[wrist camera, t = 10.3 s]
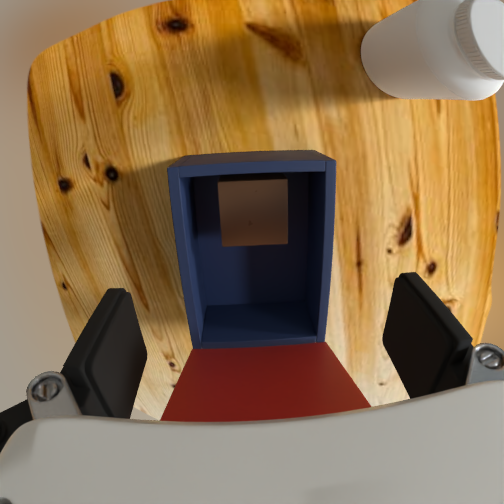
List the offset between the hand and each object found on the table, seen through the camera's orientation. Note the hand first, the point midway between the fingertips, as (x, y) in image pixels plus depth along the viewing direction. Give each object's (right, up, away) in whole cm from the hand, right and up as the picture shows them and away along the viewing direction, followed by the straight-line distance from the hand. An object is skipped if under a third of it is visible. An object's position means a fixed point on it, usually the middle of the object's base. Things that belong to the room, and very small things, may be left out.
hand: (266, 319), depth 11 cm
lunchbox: (0, +4, +20) cm, 20 cm away
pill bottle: (+13, +20, +13) cm, 27 cm away
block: (-1, +7, +17) cm, 19 cm away
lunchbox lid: (0, -6, +8) cm, 10 cm away
